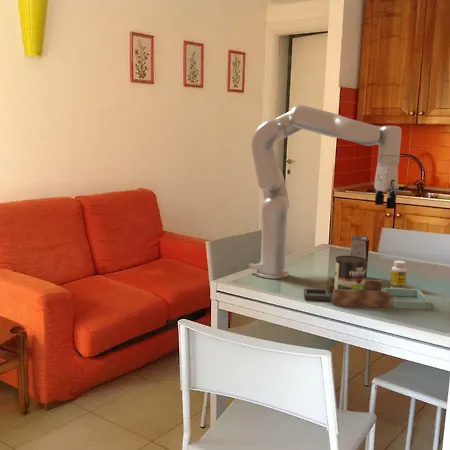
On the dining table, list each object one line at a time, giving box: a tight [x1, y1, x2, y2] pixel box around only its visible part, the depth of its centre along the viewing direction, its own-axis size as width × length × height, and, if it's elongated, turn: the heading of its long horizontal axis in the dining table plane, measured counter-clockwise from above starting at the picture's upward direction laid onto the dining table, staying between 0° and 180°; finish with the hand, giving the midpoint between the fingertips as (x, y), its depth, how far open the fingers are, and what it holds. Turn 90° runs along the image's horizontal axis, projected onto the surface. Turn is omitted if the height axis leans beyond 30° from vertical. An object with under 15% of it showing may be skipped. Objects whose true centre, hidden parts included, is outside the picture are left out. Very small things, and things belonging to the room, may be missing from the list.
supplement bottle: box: [389, 260, 408, 289], centre depth 201 cm, size 5×5×10 cm
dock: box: [384, 287, 431, 311], centre depth 185 cm, size 12×15×2 cm
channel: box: [328, 277, 391, 309], centre depth 186 cm, size 18×15×5 cm
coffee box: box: [349, 235, 370, 280], centre depth 211 cm, size 9×6×16 cm
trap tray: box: [303, 287, 330, 302], centre depth 188 cm, size 8×8×2 cm
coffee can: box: [334, 255, 367, 290], centre depth 186 cm, size 10×10×14 cm
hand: (384, 206), depth 203 cm, fingers open, 9 cm apart
